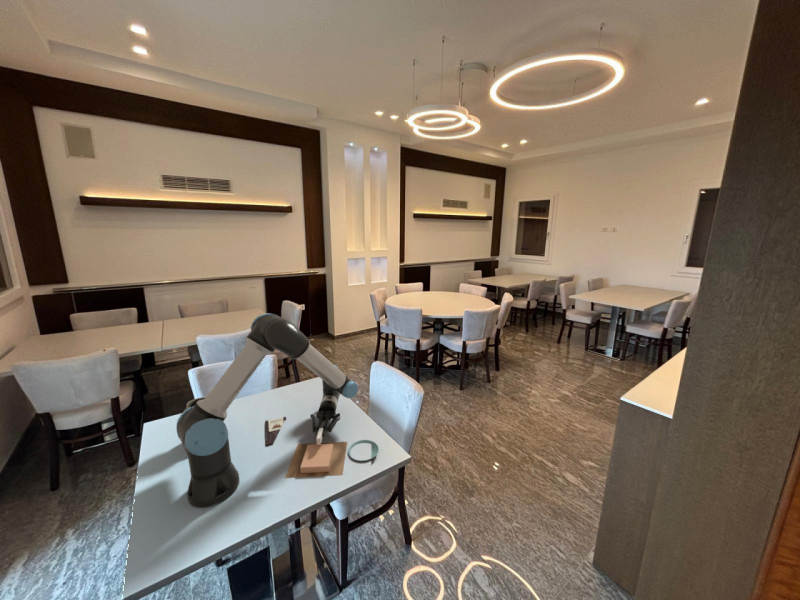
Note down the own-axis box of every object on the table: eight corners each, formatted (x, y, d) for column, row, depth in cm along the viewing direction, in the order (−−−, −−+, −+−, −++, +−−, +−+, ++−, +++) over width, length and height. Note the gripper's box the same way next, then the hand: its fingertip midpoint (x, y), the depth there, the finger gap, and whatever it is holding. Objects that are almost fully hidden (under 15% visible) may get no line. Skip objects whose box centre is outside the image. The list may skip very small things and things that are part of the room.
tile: (308, 450, 123) (300, 473, 111) (307, 444, 123) (300, 467, 111) (333, 449, 124) (329, 472, 112) (333, 443, 123) (328, 466, 112)
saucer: (356, 470, 115) (356, 464, 115) (343, 451, 125) (343, 446, 124) (384, 457, 121) (383, 452, 121) (370, 441, 131) (370, 436, 131)
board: (285, 480, 110) (285, 477, 109) (298, 446, 127) (297, 443, 127) (342, 477, 111) (342, 474, 111) (347, 444, 129) (347, 441, 128)
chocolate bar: (266, 445, 127) (265, 421, 143) (266, 447, 127) (265, 423, 143) (289, 439, 131) (285, 416, 147) (289, 441, 131) (286, 418, 147)
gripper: (342, 414, 143) (336, 449, 120) (314, 415, 142) (301, 450, 119) (342, 399, 142) (335, 432, 119) (313, 400, 141) (300, 433, 118)
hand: (318, 441), depth 119 cm, fingers closed
